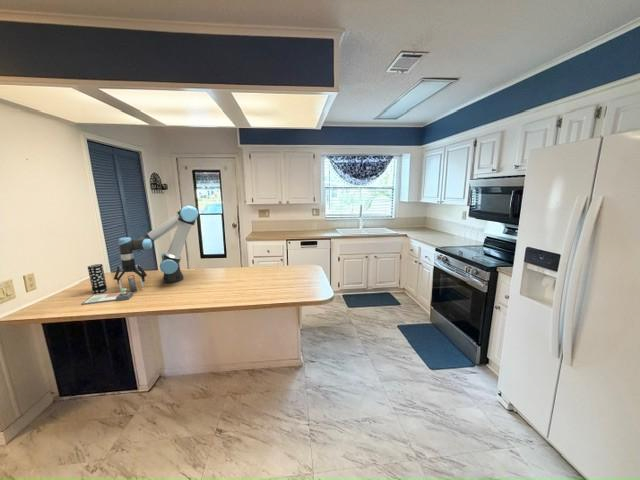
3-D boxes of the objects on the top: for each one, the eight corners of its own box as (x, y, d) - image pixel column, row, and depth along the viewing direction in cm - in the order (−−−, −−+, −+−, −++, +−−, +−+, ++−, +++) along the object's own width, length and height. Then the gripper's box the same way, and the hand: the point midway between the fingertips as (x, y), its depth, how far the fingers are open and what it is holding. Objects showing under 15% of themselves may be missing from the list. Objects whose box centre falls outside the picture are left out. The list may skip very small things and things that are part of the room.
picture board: (125, 292, 195) (125, 291, 195) (116, 300, 181) (116, 299, 181) (93, 296, 189) (92, 294, 189) (81, 305, 175) (81, 303, 175)
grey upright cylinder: (137, 290, 199) (135, 274, 196) (135, 292, 195) (132, 276, 192) (131, 290, 198) (128, 275, 195) (129, 292, 194) (126, 277, 191)
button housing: (132, 295, 188) (132, 291, 188) (128, 299, 182) (128, 295, 181) (121, 297, 187) (120, 293, 186) (117, 301, 180) (116, 297, 179)
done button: (128, 293, 186) (127, 287, 185) (126, 295, 182) (125, 289, 182) (122, 294, 185) (121, 288, 184) (120, 296, 182) (119, 290, 181)
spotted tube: (90, 294, 192) (84, 268, 188) (96, 290, 200) (91, 264, 196) (104, 293, 194) (98, 266, 190) (109, 288, 202) (104, 263, 198)
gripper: (149, 256, 198) (153, 283, 202) (109, 259, 191) (114, 287, 195) (145, 258, 191) (149, 286, 195) (104, 262, 184) (109, 290, 188)
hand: (132, 287), depth 195 cm, fingers open, 13 cm apart
